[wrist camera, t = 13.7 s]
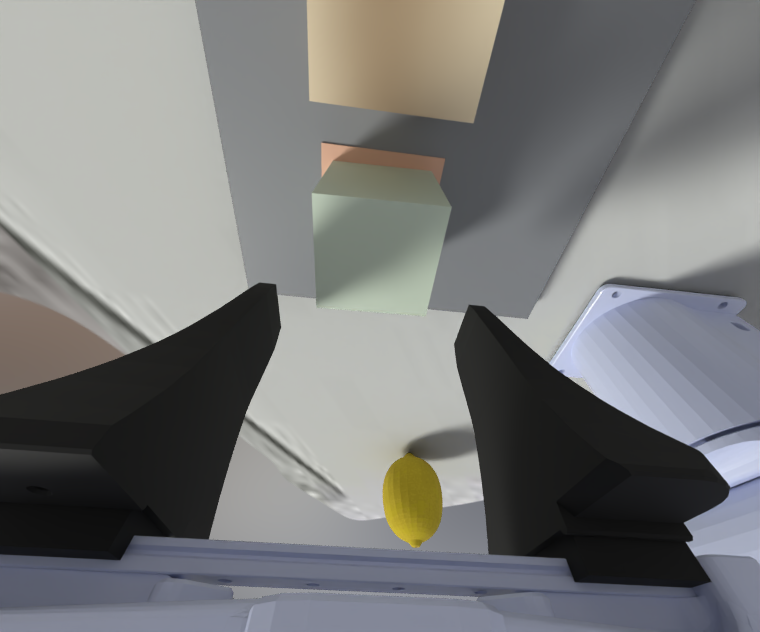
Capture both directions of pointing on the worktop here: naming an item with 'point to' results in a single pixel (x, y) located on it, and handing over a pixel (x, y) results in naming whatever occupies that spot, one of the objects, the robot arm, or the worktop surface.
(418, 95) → the maple block
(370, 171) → the sage block
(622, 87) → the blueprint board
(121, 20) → the worktop surface
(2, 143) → the worktop surface
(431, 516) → the lemon
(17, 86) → the worktop surface
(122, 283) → the worktop surface
